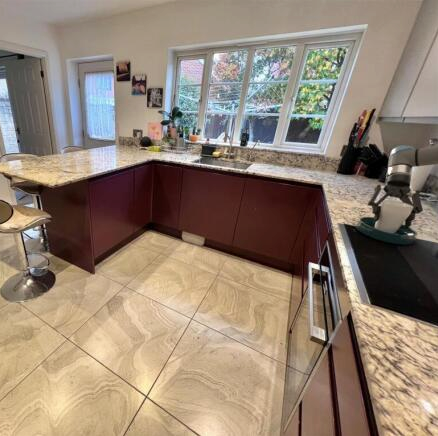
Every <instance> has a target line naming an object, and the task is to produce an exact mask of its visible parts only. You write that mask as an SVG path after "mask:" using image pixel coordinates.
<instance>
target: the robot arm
mask: <svg viewBox="0 0 438 436" xmlns="http://www.w3.org/2000/svg"><path fill="white" fill-rule="evenodd" d="M433 165H438V144H436V145H433V146H428V147H422V148H415V147H413V146H412V145H403V144H402V145H399V146H396V147H394V148H392V150H391V151H390V154H389V156H388V163H387V170H386V175H385V182H384V185H381V184H377V185H376V186H375V187H374V192H373V194H372V196H370V199H369V201H368V202H367V206H369V207H370V206H371V208H372V211H371V213H372V215H374V216H373V217H374V222H376V221H378V220H379V217H380V210H381V204H382V203H383V202H384V201H385V200H387V198H388V197H390V198H396V199H398V200H399V201H400V202H402V203H406V204H409V205H411V206H413V209H412V211H411V213H410V215H409V216H408V218H407V219H406V220H405V221H404V225H405V227H404V228H408V227H410V228H411V226H412V222H413V221H415V219H416V215H418V214H421V213H422V212H423V211H424V210H423V205H422V200H421V197H420V194H421V190H420V189H416V190H412V189H411V182H412V174H413V168H415V167H417V168H418V167H423V166H424V167H425V166H433ZM382 190H383V191H384V192H385V194H384V195H383V196H382V197H381V198H379V200H378V201H376V200H377V197H378V196H379V194H380V192H381V191H382ZM410 197H411V199H410ZM375 201H376V202H375Z"/></svg>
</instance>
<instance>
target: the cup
mask: <svg viewBox="0 0 438 436" xmlns="http://www.w3.org/2000/svg"><path fill="white" fill-rule="evenodd" d="M380 206H381V210H380V217H379V220H378V221H376V224H375V228H376V229H378V230H381V231H385V232H389V233H395V232H396V231H397V230H398V228H399V227H400V226H401V225H402V224H403V225H404V223H405V220H406V219H407V218H408V216H409V215H410V213H411V211H412V209H413V206H411V205H409V204H406V203H403V202H402V201H397V200H390V199H385V200H384V201H383V202H382V203H381V204H380Z"/></svg>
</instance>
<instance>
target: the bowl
mask: <svg viewBox="0 0 438 436" xmlns="http://www.w3.org/2000/svg"><path fill="white" fill-rule="evenodd" d="M375 224H376V222H374V216H361V217H359V219H358V221H357V223H356V225H355V229H356V230H357V231H358V232H360V233H361V234H363V235H365V236H367V237H369V238H372V239H374V240H376V241H380V242H384V243H388V244H394V245H395V244H396V245H404V246H406V245H411V244H413V243H414V241H415V239H416V238H417V237H418V232H417V231H416V230H415V229H413V228H412V227H411V226H410V227H408V228H404V227H405V224H404V223H403V224H402V225H401V226H400V227H399V228H398V230H397V231H396V232H395V233H389V232H385V231H381V230H378V229H376V228H375Z"/></svg>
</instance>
